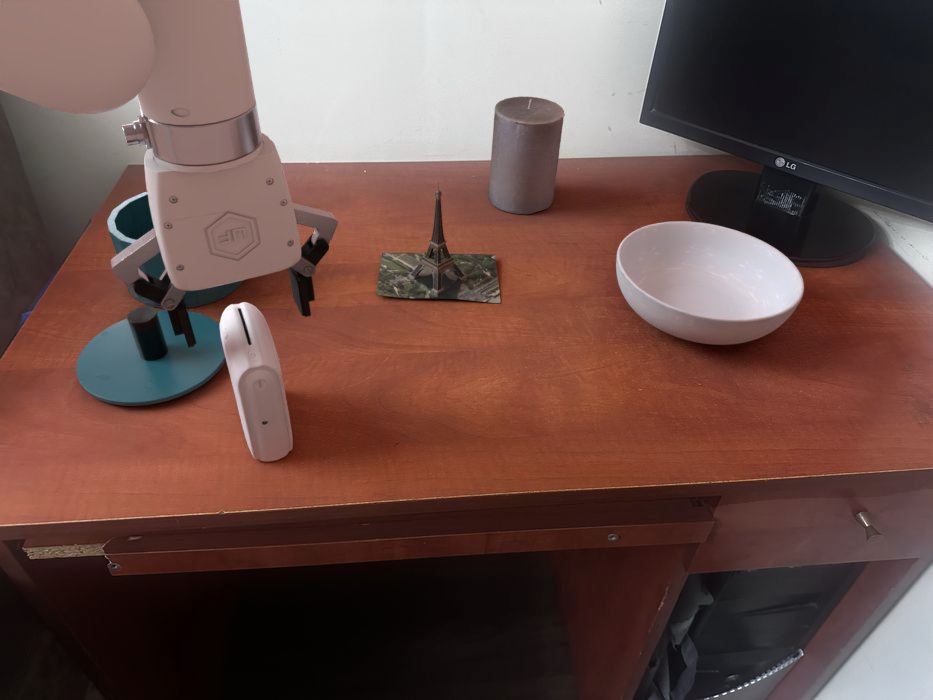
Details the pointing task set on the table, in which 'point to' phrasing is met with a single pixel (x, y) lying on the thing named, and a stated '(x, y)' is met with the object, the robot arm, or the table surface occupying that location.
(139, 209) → the pot
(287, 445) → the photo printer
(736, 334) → the serving bowl
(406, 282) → the eiffel tower figurine
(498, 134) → the pillar candle
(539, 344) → the table surface
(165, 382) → the lid
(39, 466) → the table surface
